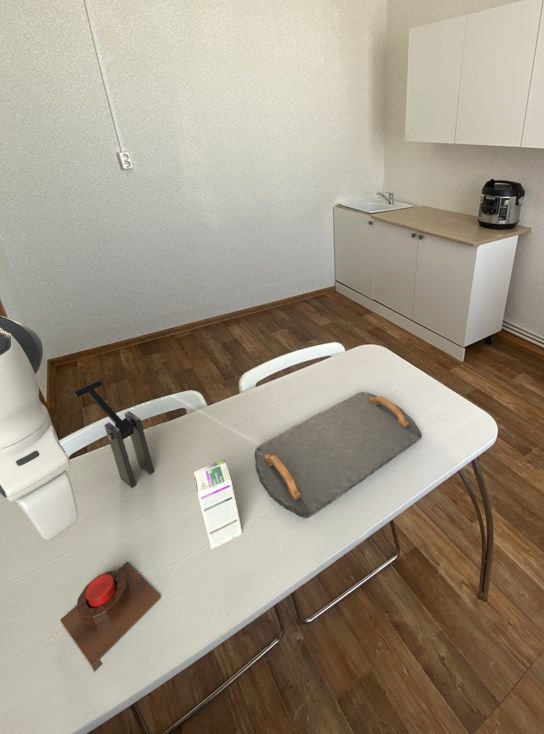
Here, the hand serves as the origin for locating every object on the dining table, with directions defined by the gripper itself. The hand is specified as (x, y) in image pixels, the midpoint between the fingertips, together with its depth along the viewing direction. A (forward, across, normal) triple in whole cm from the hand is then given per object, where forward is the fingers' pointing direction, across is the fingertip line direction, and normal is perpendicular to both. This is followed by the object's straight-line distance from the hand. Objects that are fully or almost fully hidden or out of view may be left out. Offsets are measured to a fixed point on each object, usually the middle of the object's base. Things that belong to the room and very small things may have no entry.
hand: (43, 520), depth 55 cm
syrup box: (+18, +11, +20) cm, 29 cm away
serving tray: (+18, +18, +48) cm, 55 cm away
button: (+15, +5, +2) cm, 16 cm away
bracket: (+18, -15, +18) cm, 30 cm away
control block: (+18, +7, +2) cm, 20 cm away
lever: (+3, -22, +18) cm, 28 cm away
